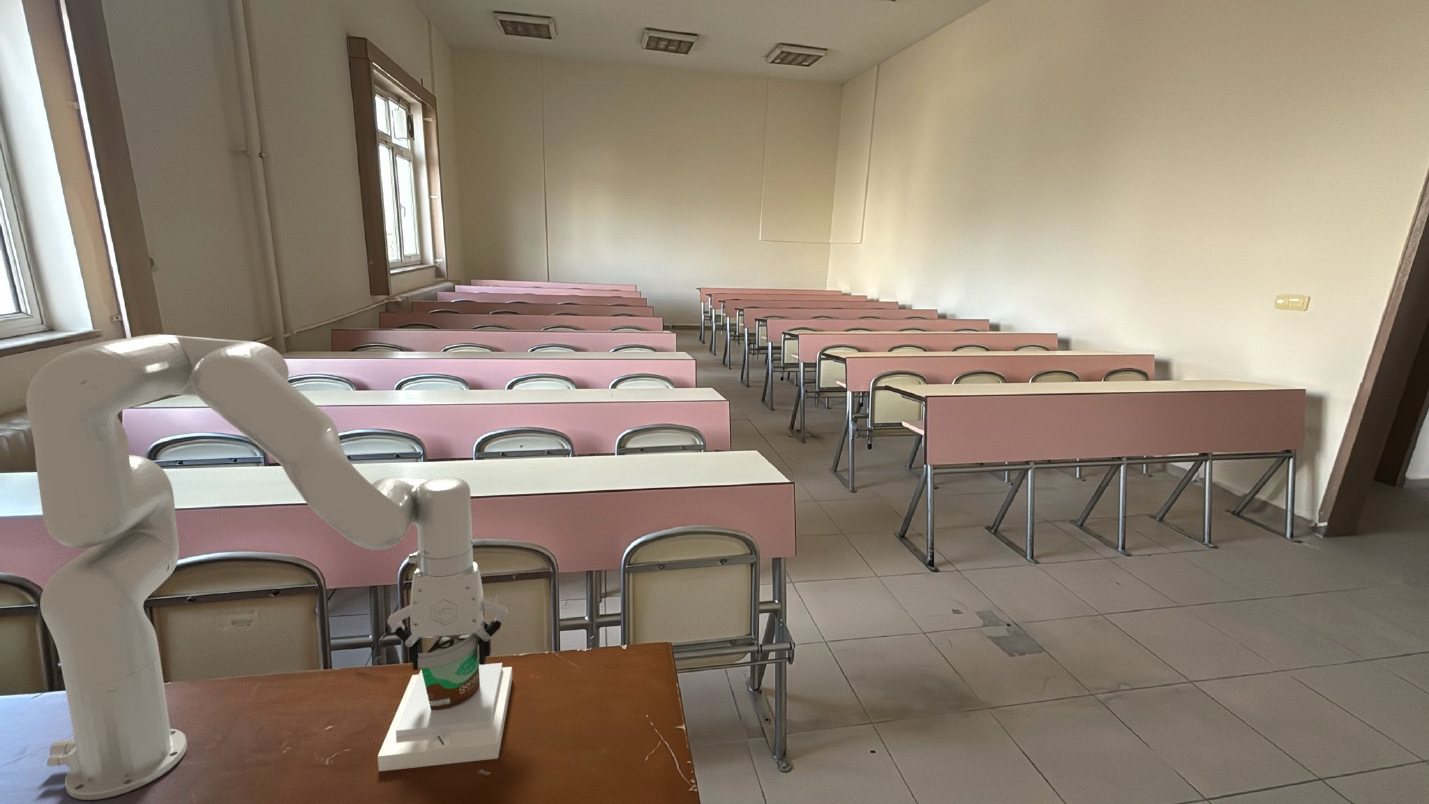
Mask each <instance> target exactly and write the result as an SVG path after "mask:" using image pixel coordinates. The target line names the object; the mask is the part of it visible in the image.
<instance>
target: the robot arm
mask: <svg viewBox="0 0 1429 804" xmlns="http://www.w3.org/2000/svg"><path fill="white" fill-rule="evenodd" d="M289 373H290V371H289V367H288V365H287V361H286V360H285V358H284V357H283V356H282V355H281V353H279V351H277V350H276V349H275V348H273V347H271V346H269V345H266V344H264V343H260V342H255V341H248V340H236V339H234V340H233V339H224V338H223V339H221V338H220V339H219V338H211V337H208V338H207V337H198V336H189V335H188V336H185V335H175V334H174V335H173V334H161V333H158V334H146V335H145V334H144V335H138V336H137V335H136V336H132V337H128V338H120V339H119V338H118V339H111V340H108V341H102V342H97V343H93V344H89V345H86V346H82V347H78V348H77V349H73V350H71V351H68V352H66V353H64V354H61V355H59V356H57V357H55V358H54V359H52V360H50V361H48V362H47V363H46V364H44V365H43V366H42V367H41V368H40V369H39V370H38V371H37V372H36V373H35V374H34V376H33V377H32V379H31V381H30V383H29V386H28V388H27V391H26V396H25V397H26V399H25V400H26V401H25V403H26V410H27V417H28V422H29V425H30V430H31V434H32V439H33V446H34V453H35V455H34V456H35V465H36V473H37V474H36V475H37V482H38V490H39V496H40V502H41V511H42V517H43V522H44V525H45V528H46V529H47V532H48V534H49V536H50V537H51V538H52V539H53V540H54V541H56V542H57V543H58V544H61V545H63V546H65V547H70V548H75V549H83V548H84V549H86V548H88V549H87V550H85V551H84V552H82V553H80V554H79V555H78V556H76V557H74V558H73V559H72V560H70V561H68V562H67V563H66V564H65V565H63V566H62V567H61V568H60V569H59V570H57V571H56V572H55V573H54V574H53V575H52V576H51V578H49V580H48V582H47V583H46V584H45V585H44V588H43V590H42V593H41V596H40V601H39V603H40V604H39V605H40V612H41V615H42V618H43V620H44V622H45V624H46V626H47V629H48V631H49V632H50V634H51V636H52V639H53V641H54V644H55V647H56V650H57V654H58V657H59V662H60V667H61V672H62V677H63V682H64V688H65V692H66V698H67V706H68V711H69V715H70V716H69V718H70V722H71V728H72V733H73V739H65V740H56V741H54V742H53V743H52V745H50V749H49V755H50V756H49V758H48V759H47V761H46V766H47V767H48V768H49V767H61V766H64V765H66V766H67V767H69V771H68V773H67V774H66V776H65V780H64V787H65V791H66V794H68V795H69V796H70V797H72V798H73V799H78V800H83V801H84V800H87V801H88V800H89V801H91V800H93V801H95V800H101V799H106V798H112V797H113V798H114V797H116V796H119V795H122V794H125V793H129V792H131V791H133V790H136V789H138V788H141V787H143V786H145V785H147V784H149V783H151V782H152V781H154V780H157V779H158V778H160V777H161V776H163V775H164V774H166V773H167V772H169V771H170V770H171V769H173V767H174V766H175V765H176V764H177V763H179V761H180V760H181V759H182V758H183V756H184V755H185V753H186V751H187V748H188V742H187V737H186V735H185V733H183V731H181V730H178V729H175V728H171V725H170V718H169V717H170V716H169V712H168V710H169V709H168V703H167V697H166V690H165V683H164V677H163V669H162V663H161V654H160V649H159V642H158V637H157V634H156V630H155V627H154V626H153V624H152V622H151V620H150V619H149V617H148V616H147V614H146V612H145V609H144V608H145V607H144V603H145V601H146V599H147V598H149V596H150V595H151V594H152V593H154V592H155V591H156V590H157V589H158V588H159V587H160V586H161V585H162V584H163V583H164V582H165V581H167V579H168V578H169V577H170V576H171V575H172V574H173V572H174V570H175V568H176V567H177V564H178V561H179V553H180V549H179V547H180V546H179V545H180V544H179V538H178V527H177V518H176V517H177V516H176V508H175V506H176V505H175V498H174V497H175V496H174V490H173V486H172V483H171V480H170V479H169V477H168V475H167V473H166V472H165V471H164V469H163V468H162V467H161V466H160V465H159V464H157V463H156V462H154V461H152V460H151V459H149V458H146V457H143V456H140V455H136V454H135V455H134V454H130V452H129V439H128V435H127V433H126V430H125V428H124V426H123V424H122V422H121V420H120V419H119V417H118V415H119V413H120V412H122V411H123V410H126V409H129V408H133V407H134V408H135V407H137V406H140V405H144V404H146V403H150V402H152V401H153V402H154V401H157V400H159V399H161V398H164V397H167V396H193V397H198V398H199V399H200V400H201V401H202V403H204V404H205V405H207V406H208V408H210V409H212V410H213V412H215V413H217V415H219V416H220V417H221V418H223V419H224V420H226V422H228V423H229V424H230V425H231V426H233V427H234V428H235V429H237V430H238V431H239V432H240V433H241V434H243V435H244V436H245V437H246V438H248V439H249V440H250V441H252V442H253V443H254V444H255V445H256V446H258V447H259V448H260V449H261V450H262V451H264V453H266V454H268V455H269V456H270V457H271V458H273V460H275V461H276V462H277V463H278V464H279V465H280V466H281V467H282V469H283V470H284V472H285V474H286V476H287V478H288V479H289V481H290V482H291V484H292V485H293V486H294V488H295V489H296V491H297V492H298V494H299V495H300V496H301V497H302V499H303V501H305V503H306V504H307V505H308V506H309V508H310V509H311V510H312V511H313V512H314V513H315V514H316V515H317V516H318V517H319V518H321V519H322V520H323V521H325V522H326V523H327V524H328V525H329V526H330V527H332V528H333V529H334V530H335V531H336V532H338V533H339V534H341V535H342V536H343V537H344V538H346V539H347V540H348V541H350V542H351V543H353V544H355V545H357V546H359V547H361V548H363V549H368V550H371V551H373V550H374V551H381V550H386V549H387V550H388V549H389V548H392V547H394V546H396V545H397V544H399V542H401V541H403V539H404V538H405V537H406V535H407V533H408V531H409V529H410V527H411V525H415V526H416V529H417V544H418V551H417V552H415V553H409V555H408V563H409V564H414V565H415V564H416V566H417V568H416V569H415V571H414V572H413V576H412V582H411V589H410V590H411V591H410V592H411V593H410V604H409V605H407V606H405V607H403V608H401V609H399V610H397V611H395V612H394V613H391V614H390V615H389V617H388V619H387V621H386V623H387V624H388V625H389V627H390V628H391V630H392V631H394V635H395V636H396V637H397V638H399V639H400V640H401V641H402V642H404V644H405V646H406V647H408V663H412V670H413V671H417V670H419V669H420V668H418V658H419V657H418V653H424V651H423V639H424V638H439V637H445V636H458V635H469V634H474V633H476V634H477V635H478V636H479V637H480V640H479V644H478V657H479V665H485V664H486V662H487V661H486V659H487V657H491V651H492V646H491V645H492V642H491V641H492V640H491V637H492V636H494V634H495V633H497V631H498V630H500V629H501V626H502V625H503V623H504V621H505V620H506V617H507V616H508V611H509V609H508V607H506V606H504V605H501V604H499V603H496V602H493V601H491V600H489V599H486V598H484V590H483V583H482V582H483V581H482V578H481V572H480V568H479V566H478V563H477V562H475V561H474V559H473V558H474V557H473V555H474V553H473V551H474V550H473V528H472V527H473V526H472V524H473V523H472V499H471V498H472V497H471V488H470V486H469V483H468V482H466V480H463V479H462V478H457V477H449V476H447V477H436V478H432V479H421V478H419V479H417V478H408V477H400V476H398V477H396V476H395V477H394V476H393V477H390V476H389V477H383V478H380V479H378V480H376V481H374V482H373V483H371V482H369V481H368V480H367V478H366V477H364V476H363V475H362V474H361V473H360V472H359V471H358V470H357V469H356V468H355V466H354V465H353V464H352V463H351V461H350V460H349V458H348V457H347V455H346V452H345V451H344V448H343V446H342V442H341V440H340V435H339V431H338V428H337V426H336V424H335V422H334V421H333V419H332V418H331V417H330V416H329V415H328V414H327V413H326V412H324V411H323V410H322V409H321V408H319V407H318V406H317V405H316V404H315V403H314V402H312V401H311V400H310V399H309V398H308V397H307V396H305V395H304V394H303V393H302V392H301V391H299V390H298V389H297V388H296V387H295V386H293V384H291V383H290V382H289V381H288V380H289ZM485 612H487V613H488V614H491V615H494V616H495V617H494V619H493V620H492V621H491V622H489V621H488V620H486V619H485V618H484V617H485ZM409 617H410V618H409ZM407 618H409V621H410V622H409V624H410V627H408V626H407V625H406V624H405V623H403V620H405V619H407Z"/></svg>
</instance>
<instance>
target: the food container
mask: <svg viewBox="0 0 1429 804" xmlns="http://www.w3.org/2000/svg"><path fill="white" fill-rule="evenodd" d="M479 640H480V637H479V636H478V635H477V634H476V633H474V634H469V635H458V636H445V637H437V639H436V641H435V642H434V643H433V645H432V646H431V647H430V648H429V649H428V650H427V651H426V652H423V653H418V657H419V658H418V668H419V669H420V671H421V670H422V674H423V678H424V682H425V687H426V691H427V695H428V699H429V704H430V708H431V710H440V709H446V708H450V707H453V706H456V705H458V704H461V703H462V702H464V701H466V700H468V699H469V698H470V697H472V696H473V695H474V694H475V693H476V692H477V690H478V689H479V686H480V678H479V665H480V662H479Z"/></svg>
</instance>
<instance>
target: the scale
mask: <svg viewBox="0 0 1429 804" xmlns="http://www.w3.org/2000/svg"><path fill="white" fill-rule="evenodd" d="M479 678H480V686H479V689H478V690H477V692H476V693H475V694H474V695H473V696H472V697H470V698H469V699H468V700H466V701H464V702H462V703H461V704H458V705H456V706H453V707H450V708H446V709H440V710H431V708H430V704H429V699H428V695H427V691H426V687H425V682H424V678H423V674H422V670H421V669H420V671H419V673H418V674H411V677H410V680H409V682H408V684H407V687H406V689H405V691H404V694H403V697H402V699H401V700H400V704H399V705H398V708H397V710H396V713H395V715H394V717H393V719H392V722H391V724H390V726H389V730H388V731H387V734H386V737H385V738H384V741H383V743H382V745H381V748H380V749H379V752H378V755H377V764H378V765H377V766H378V772H387V771H395V770H403V769H404V770H405V769H414V768H422V767H430V766H431V767H432V766H440V765H451V764H460V763H467V762H476V761H486V760H497V759H499V755H500V750H501V745H502V744H501V743H502V738H503V733H504V727H505V723H506V716H507V710H508V705H509V700H510V694H511V689H512V688H511V687H512V684H513V683H512V682H513V667H512V666H505V667H503V662H498V663H497V662H496V663H485V665H481V664H479Z"/></svg>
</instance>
